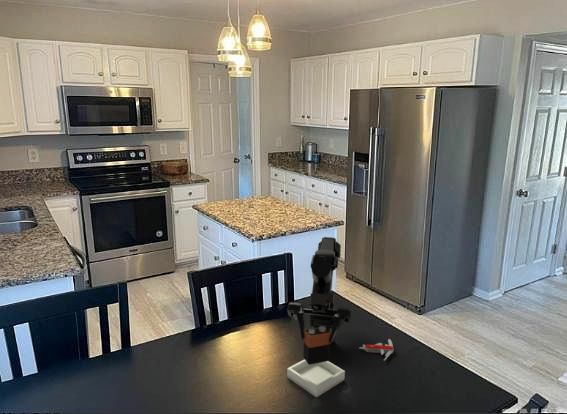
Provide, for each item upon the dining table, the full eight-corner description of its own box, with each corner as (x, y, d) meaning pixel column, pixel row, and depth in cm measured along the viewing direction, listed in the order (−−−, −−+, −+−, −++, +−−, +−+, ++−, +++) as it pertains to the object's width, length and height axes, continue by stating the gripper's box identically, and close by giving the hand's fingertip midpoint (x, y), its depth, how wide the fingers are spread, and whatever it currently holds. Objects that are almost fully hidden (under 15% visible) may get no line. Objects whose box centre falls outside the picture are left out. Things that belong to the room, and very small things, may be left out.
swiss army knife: (360, 362, 132) (360, 356, 132) (357, 339, 146) (357, 334, 145) (396, 365, 131) (397, 359, 131) (390, 341, 145) (391, 336, 144)
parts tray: (315, 362, 132) (315, 353, 131) (344, 379, 123) (344, 370, 122) (287, 377, 124) (287, 368, 123) (316, 397, 115) (316, 387, 115)
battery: (329, 361, 121) (331, 330, 119) (308, 365, 119) (309, 334, 117) (323, 353, 125) (324, 323, 123) (302, 357, 123) (303, 326, 121)
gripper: (288, 277, 123) (280, 330, 115) (352, 282, 119) (349, 337, 111) (292, 290, 132) (285, 340, 124) (352, 296, 128) (349, 348, 120)
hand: (316, 341), depth 120 cm, fingers closed on battery, 8 cm apart
